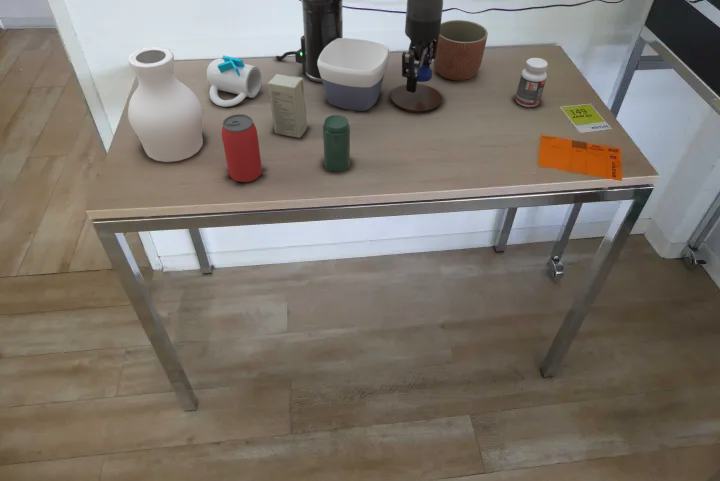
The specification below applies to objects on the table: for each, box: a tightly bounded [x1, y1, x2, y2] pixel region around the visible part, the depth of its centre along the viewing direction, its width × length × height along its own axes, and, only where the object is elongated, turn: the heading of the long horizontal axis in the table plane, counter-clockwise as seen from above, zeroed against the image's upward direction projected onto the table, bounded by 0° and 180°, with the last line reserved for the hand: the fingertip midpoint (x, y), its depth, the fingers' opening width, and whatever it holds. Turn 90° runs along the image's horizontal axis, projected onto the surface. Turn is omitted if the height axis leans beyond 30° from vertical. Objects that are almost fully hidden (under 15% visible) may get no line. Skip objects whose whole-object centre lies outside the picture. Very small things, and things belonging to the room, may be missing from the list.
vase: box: [127, 46, 204, 163], centre depth 112 cm, size 14×14×20 cm
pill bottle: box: [515, 57, 548, 108], centre depth 130 cm, size 6×6×10 cm
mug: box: [206, 55, 263, 108], centre depth 130 cm, size 12×9×12 cm
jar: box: [322, 114, 351, 173], centre depth 111 cm, size 5×5×10 cm
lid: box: [406, 65, 433, 83], centre depth 128 cm, size 6×6×2 cm
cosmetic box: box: [267, 73, 308, 139], centre depth 119 cm, size 6×4×12 cm
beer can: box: [221, 113, 263, 183], centre depth 108 cm, size 7×7×12 cm
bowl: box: [317, 37, 391, 112], centre depth 129 cm, size 15×15×11 cm
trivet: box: [390, 83, 443, 114], centre depth 133 cm, size 12×12×1 cm
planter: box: [433, 19, 489, 81], centre depth 139 cm, size 12×12×11 cm
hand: (417, 85), depth 130 cm, fingers closed on lid, 6 cm apart
